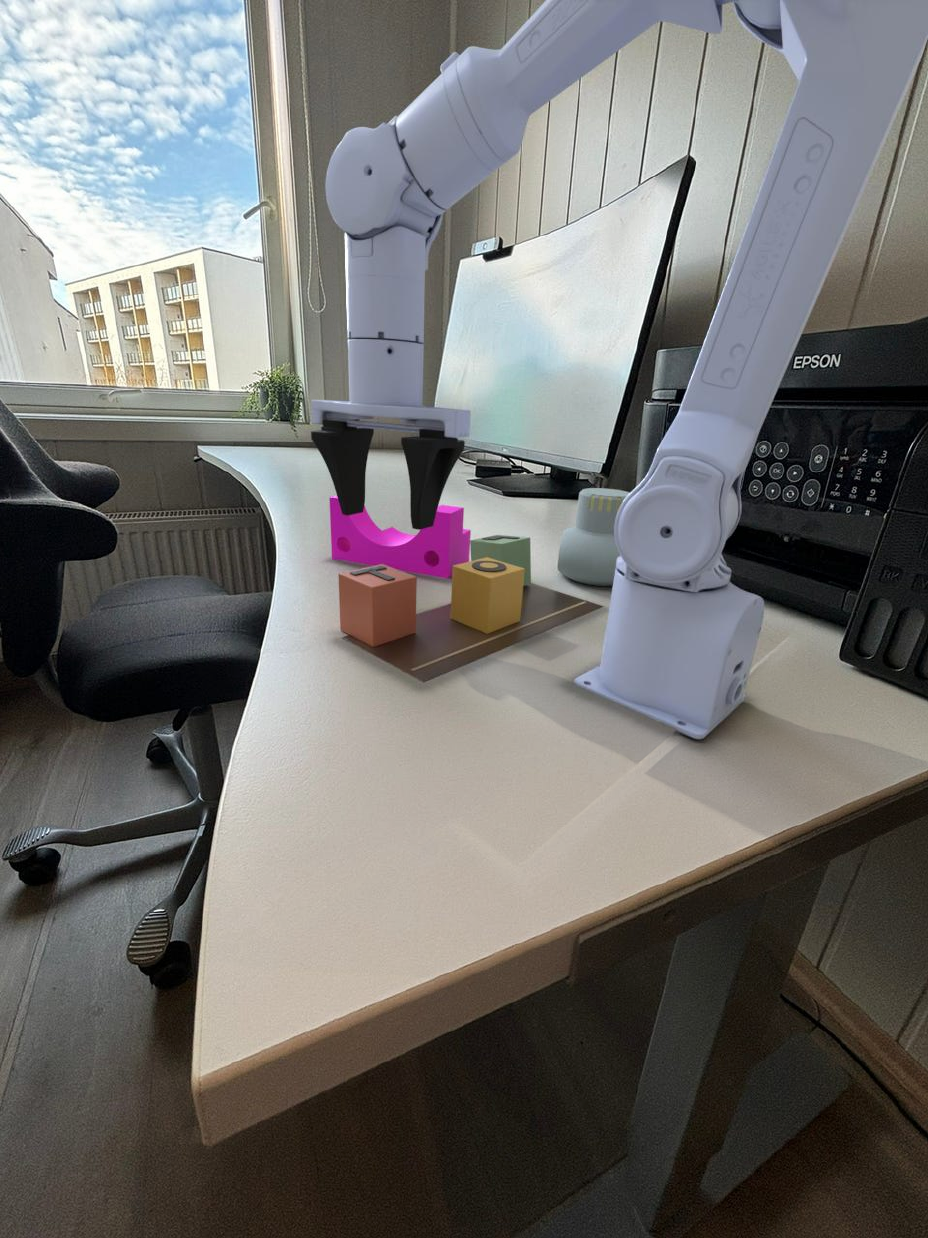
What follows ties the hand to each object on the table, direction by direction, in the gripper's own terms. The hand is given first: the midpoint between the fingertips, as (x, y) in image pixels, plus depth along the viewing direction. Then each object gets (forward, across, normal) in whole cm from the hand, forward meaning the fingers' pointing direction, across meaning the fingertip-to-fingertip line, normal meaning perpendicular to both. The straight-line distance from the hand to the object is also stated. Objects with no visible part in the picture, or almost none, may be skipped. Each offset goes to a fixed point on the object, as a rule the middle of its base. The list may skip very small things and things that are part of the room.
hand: (386, 520), depth 48 cm
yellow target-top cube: (+9, -8, -4) cm, 12 cm away
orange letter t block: (+9, -2, +4) cm, 10 cm away
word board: (+9, -8, -4) cm, 13 cm away
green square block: (+9, -4, -14) cm, 17 cm away
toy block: (+9, +10, -14) cm, 19 cm away
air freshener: (+9, -11, -24) cm, 28 cm away
